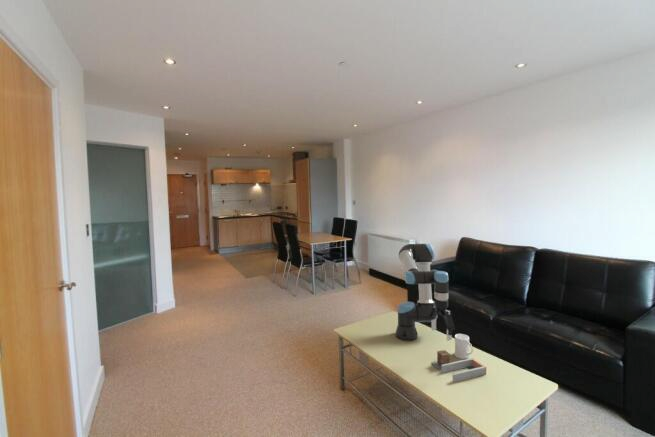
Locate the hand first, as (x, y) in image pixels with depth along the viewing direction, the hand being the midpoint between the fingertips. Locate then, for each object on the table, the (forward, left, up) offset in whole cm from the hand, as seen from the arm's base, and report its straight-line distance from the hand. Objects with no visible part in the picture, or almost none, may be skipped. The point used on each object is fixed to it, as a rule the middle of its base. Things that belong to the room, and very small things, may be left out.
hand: (441, 334), depth 182 cm
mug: (-3, +19, -19) cm, 27 cm away
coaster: (0, 0, -18) cm, 18 cm away
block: (0, +1, -18) cm, 18 cm away
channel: (+11, +6, -18) cm, 22 cm away
